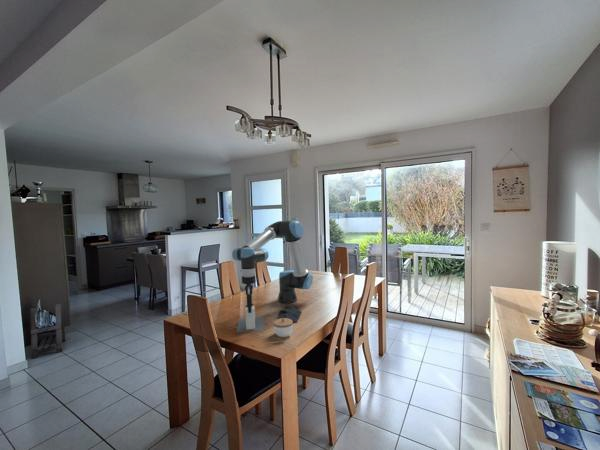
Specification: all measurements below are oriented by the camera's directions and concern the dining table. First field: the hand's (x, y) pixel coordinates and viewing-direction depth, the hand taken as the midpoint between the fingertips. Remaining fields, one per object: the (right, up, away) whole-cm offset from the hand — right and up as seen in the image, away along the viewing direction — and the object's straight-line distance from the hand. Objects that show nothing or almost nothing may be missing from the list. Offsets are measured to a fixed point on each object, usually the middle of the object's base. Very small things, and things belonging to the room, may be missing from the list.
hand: (250, 317), depth 150 cm
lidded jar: (+19, -10, -1) cm, 21 cm away
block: (-1, -9, +9) cm, 12 cm away
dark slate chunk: (+20, -9, +27) cm, 35 cm away
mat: (-2, -9, +15) cm, 17 cm away
